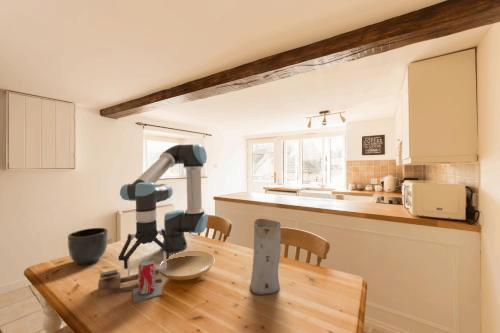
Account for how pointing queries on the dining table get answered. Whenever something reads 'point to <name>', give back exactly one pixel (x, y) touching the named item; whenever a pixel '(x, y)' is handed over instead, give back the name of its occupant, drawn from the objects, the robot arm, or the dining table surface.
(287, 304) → the dining table surface
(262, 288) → the vase
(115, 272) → the blue-grey rectangular panel
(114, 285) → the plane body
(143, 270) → the beverage can
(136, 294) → the mat
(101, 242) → the planter
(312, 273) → the dining table surface
